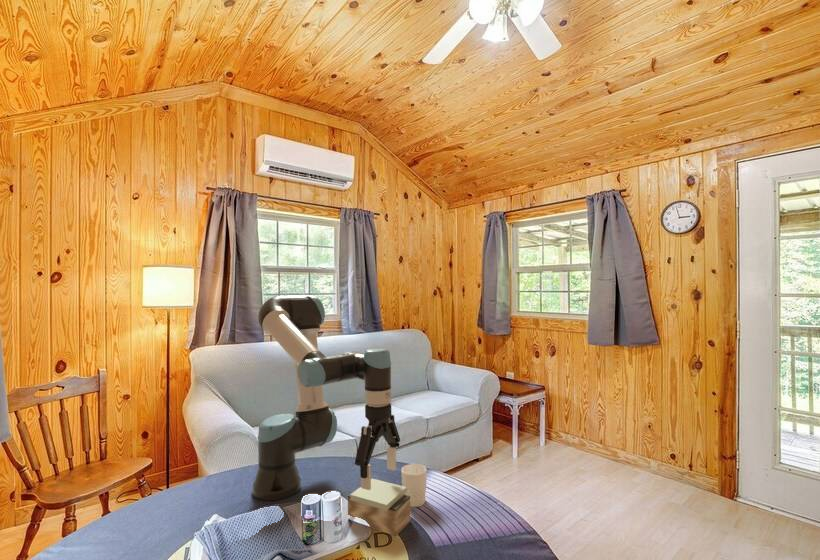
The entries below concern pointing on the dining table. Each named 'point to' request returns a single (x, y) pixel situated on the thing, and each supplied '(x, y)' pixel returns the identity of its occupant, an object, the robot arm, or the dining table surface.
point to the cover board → (379, 494)
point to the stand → (383, 515)
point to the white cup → (414, 483)
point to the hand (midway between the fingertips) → (379, 478)
